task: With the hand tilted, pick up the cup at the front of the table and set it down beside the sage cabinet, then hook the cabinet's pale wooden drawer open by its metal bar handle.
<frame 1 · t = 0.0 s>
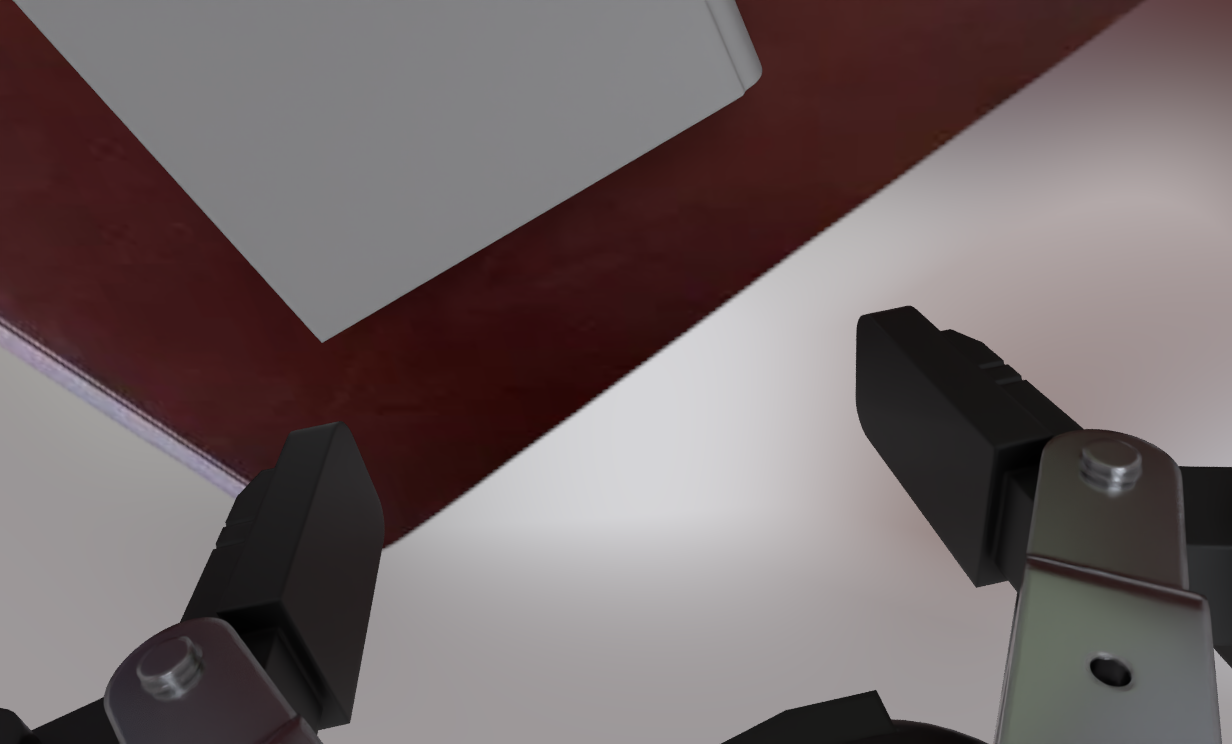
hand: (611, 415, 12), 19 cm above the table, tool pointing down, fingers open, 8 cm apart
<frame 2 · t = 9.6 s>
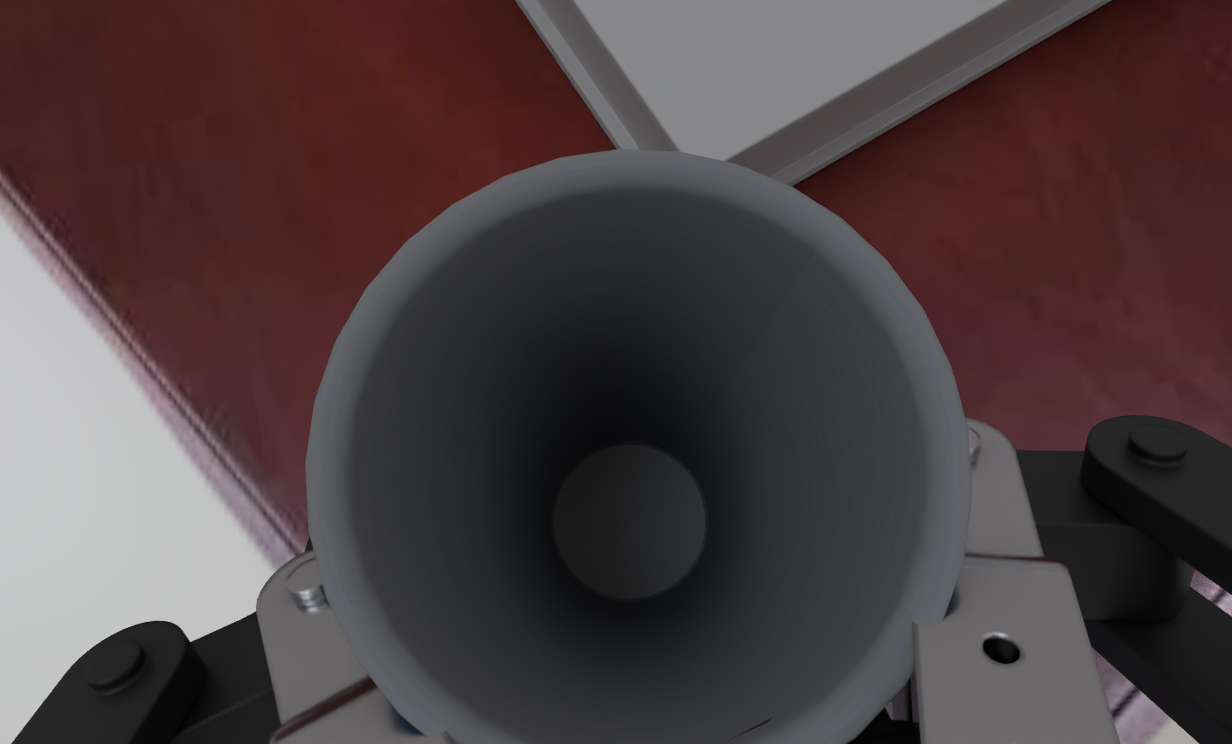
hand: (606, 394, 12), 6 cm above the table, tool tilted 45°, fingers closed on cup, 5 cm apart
cup: (629, 521, 18), on the table, touching gripper
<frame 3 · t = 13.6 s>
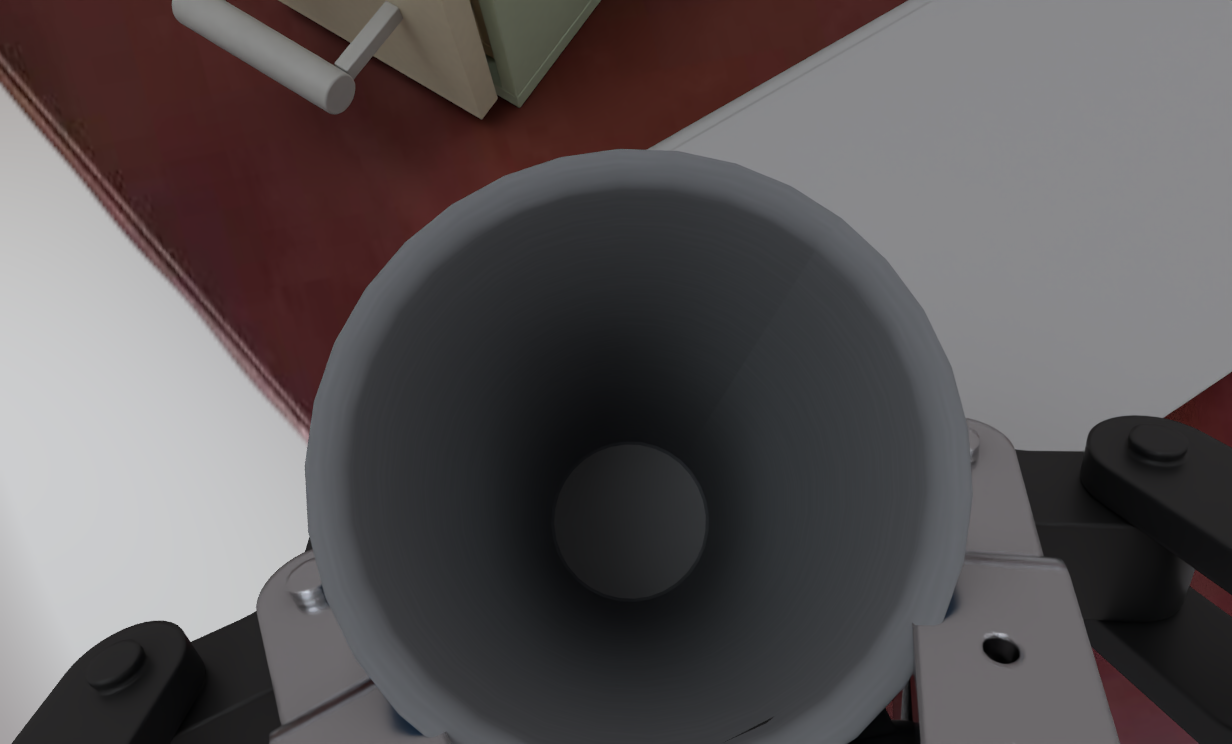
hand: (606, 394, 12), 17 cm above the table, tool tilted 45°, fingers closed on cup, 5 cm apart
book: (983, 225, 31), on the table
cup: (629, 520, 18), point 11 cm above the table, touching gripper
when the fingers open (6 cm above the table, at t = 17.7 s): cup stays where it is, on the table.
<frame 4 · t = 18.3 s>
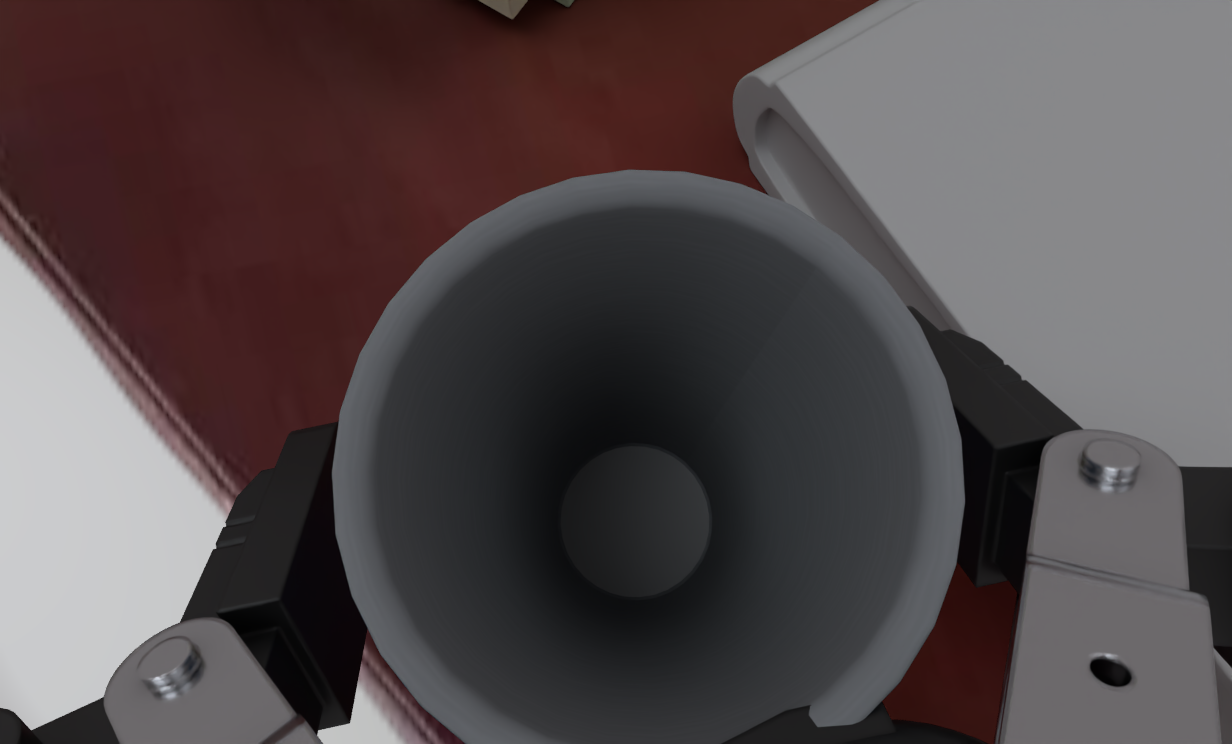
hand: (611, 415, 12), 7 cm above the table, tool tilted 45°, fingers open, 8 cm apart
cup: (634, 520, 18), on the table
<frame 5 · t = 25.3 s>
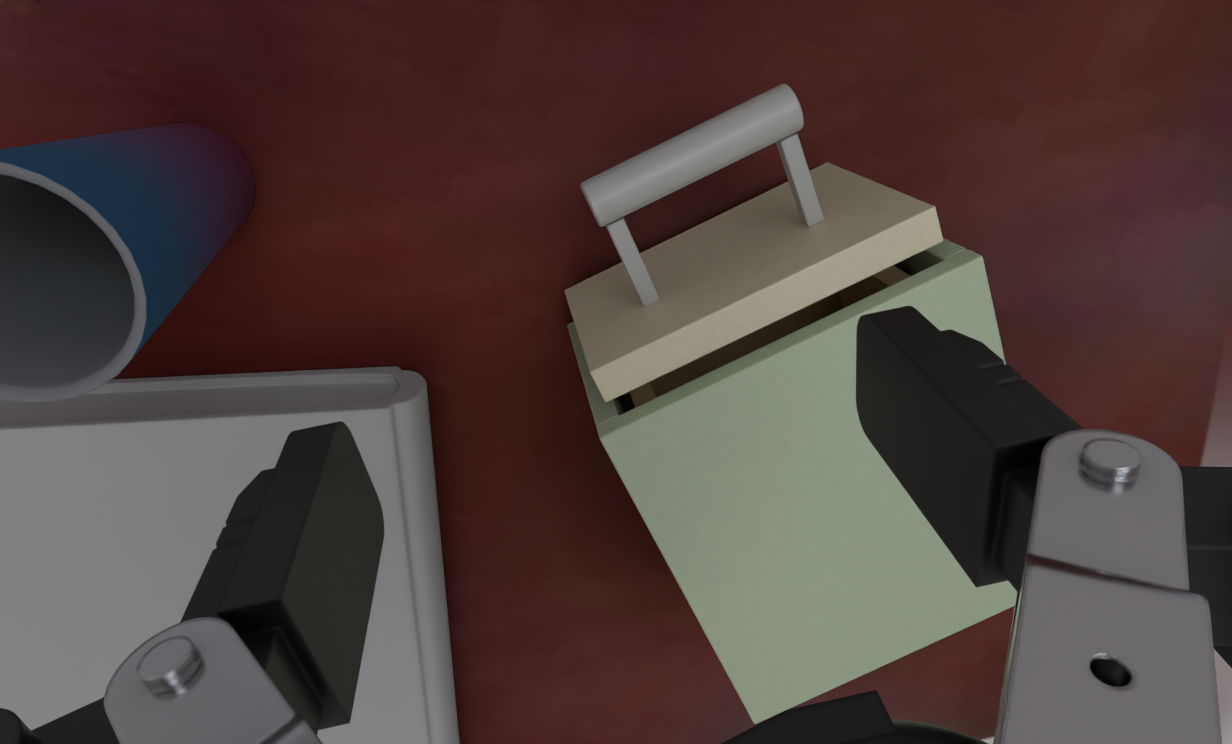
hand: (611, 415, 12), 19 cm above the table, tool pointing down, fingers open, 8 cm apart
book: (247, 608, 35), on the table
cabinet: (760, 396, 34), on the table
drawer: (764, 358, 28), point 5 cm above the table, slide at 0.5 cm
cup: (196, 180, 27), on the table
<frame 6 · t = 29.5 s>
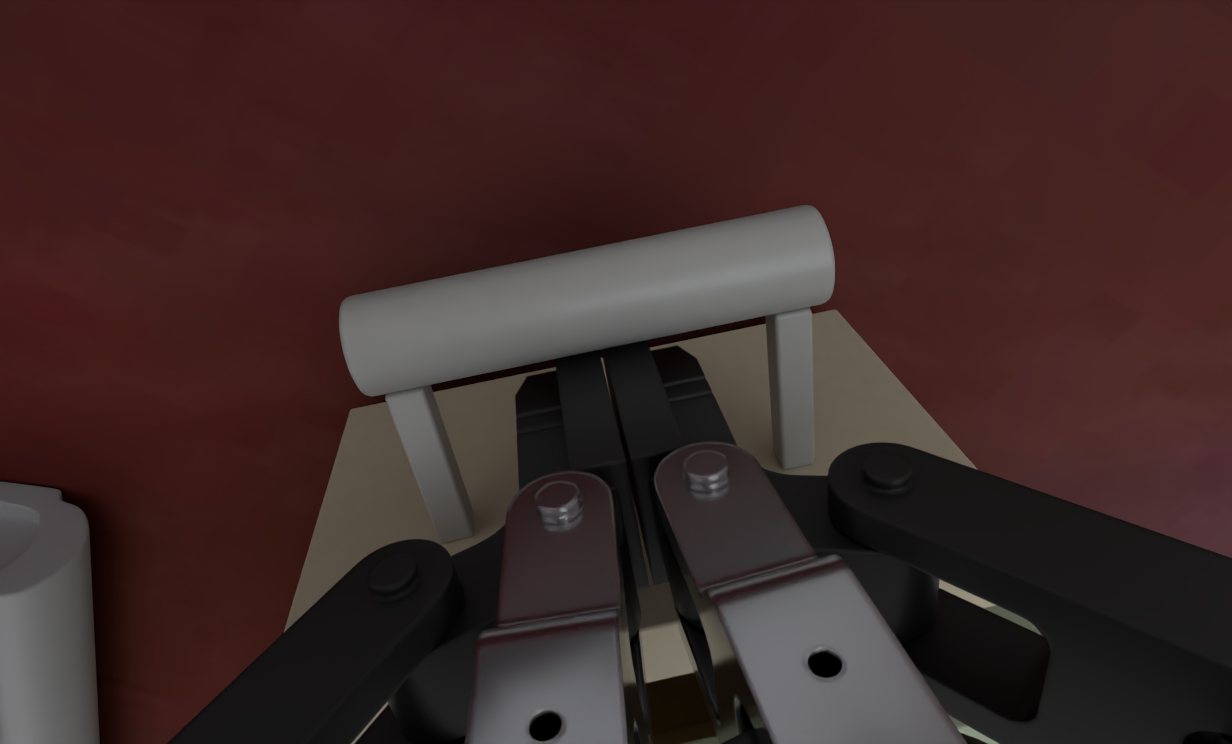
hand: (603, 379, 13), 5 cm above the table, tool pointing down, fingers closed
cabinet: (646, 617, 23), on the table
drawer: (650, 621, 16), point 5 cm above the table, slide at 1.4 cm
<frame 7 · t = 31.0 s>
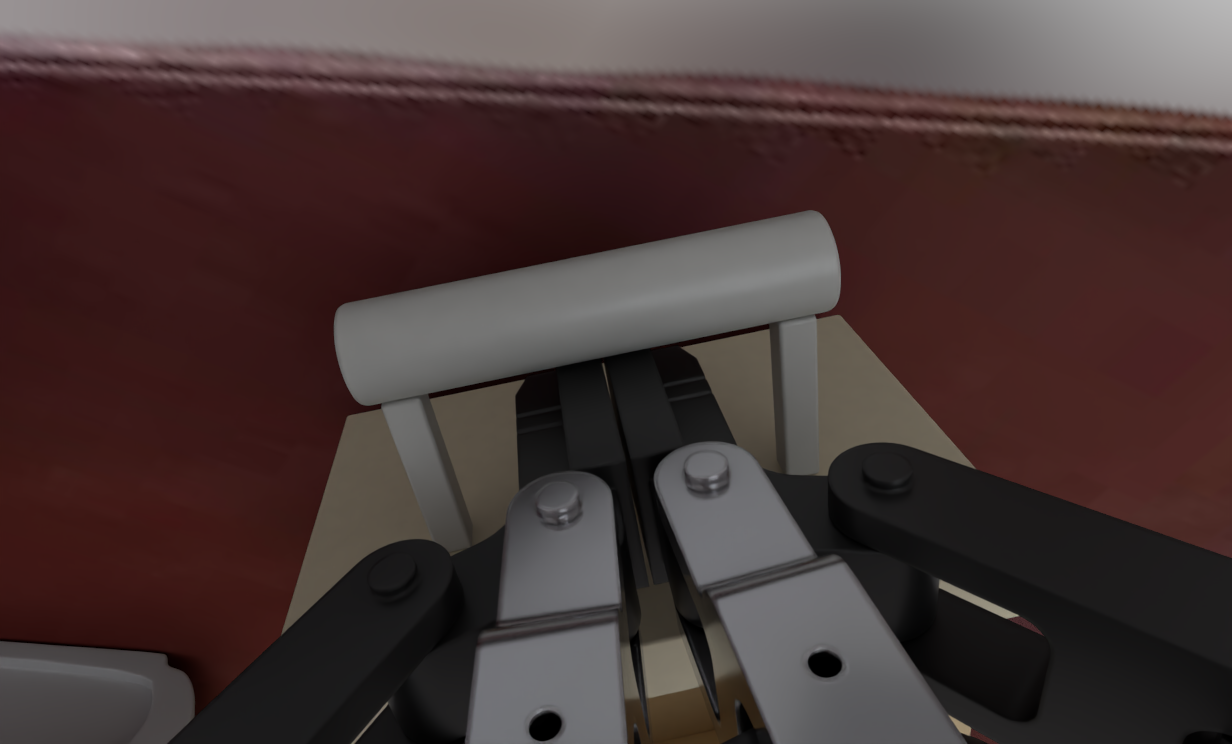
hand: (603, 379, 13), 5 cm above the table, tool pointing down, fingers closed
drawer: (652, 631, 16), point 5 cm above the table, slide at 7.2 cm, touching gripper
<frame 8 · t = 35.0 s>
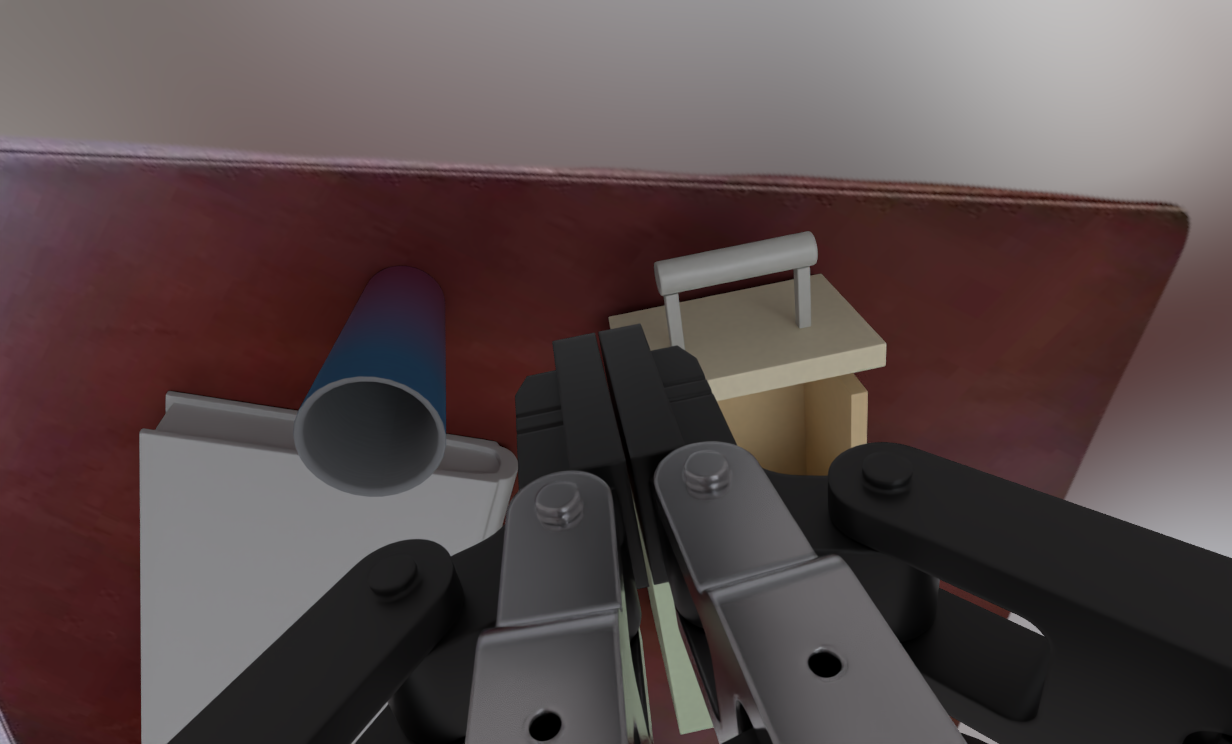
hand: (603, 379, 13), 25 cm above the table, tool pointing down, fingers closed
book: (330, 575, 47), on the table
cabinet: (732, 508, 48), on the table
drawer: (741, 405, 38), point 5 cm above the table, slide at 7.2 cm
cup: (405, 300, 38), on the table
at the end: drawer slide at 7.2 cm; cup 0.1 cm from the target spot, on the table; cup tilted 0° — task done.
